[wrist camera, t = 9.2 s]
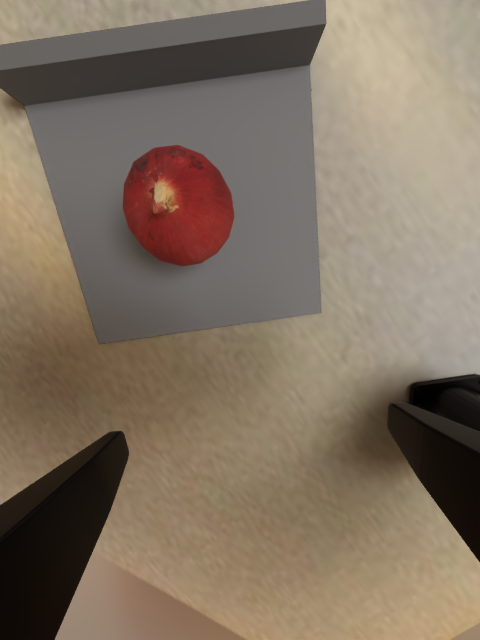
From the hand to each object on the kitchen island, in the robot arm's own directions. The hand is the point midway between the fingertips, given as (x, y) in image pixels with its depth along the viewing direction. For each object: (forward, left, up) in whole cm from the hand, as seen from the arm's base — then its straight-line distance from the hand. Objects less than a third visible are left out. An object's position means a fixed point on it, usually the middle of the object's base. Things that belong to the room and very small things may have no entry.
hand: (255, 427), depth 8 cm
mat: (+3, -9, -12) cm, 15 cm away
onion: (+2, -9, -11) cm, 14 cm away
